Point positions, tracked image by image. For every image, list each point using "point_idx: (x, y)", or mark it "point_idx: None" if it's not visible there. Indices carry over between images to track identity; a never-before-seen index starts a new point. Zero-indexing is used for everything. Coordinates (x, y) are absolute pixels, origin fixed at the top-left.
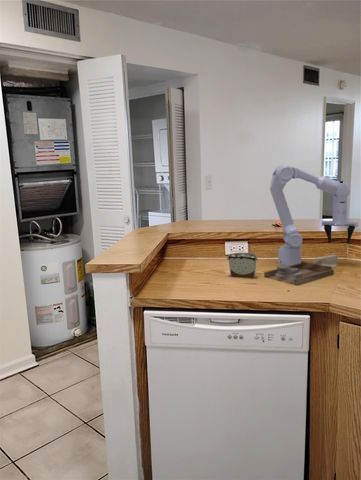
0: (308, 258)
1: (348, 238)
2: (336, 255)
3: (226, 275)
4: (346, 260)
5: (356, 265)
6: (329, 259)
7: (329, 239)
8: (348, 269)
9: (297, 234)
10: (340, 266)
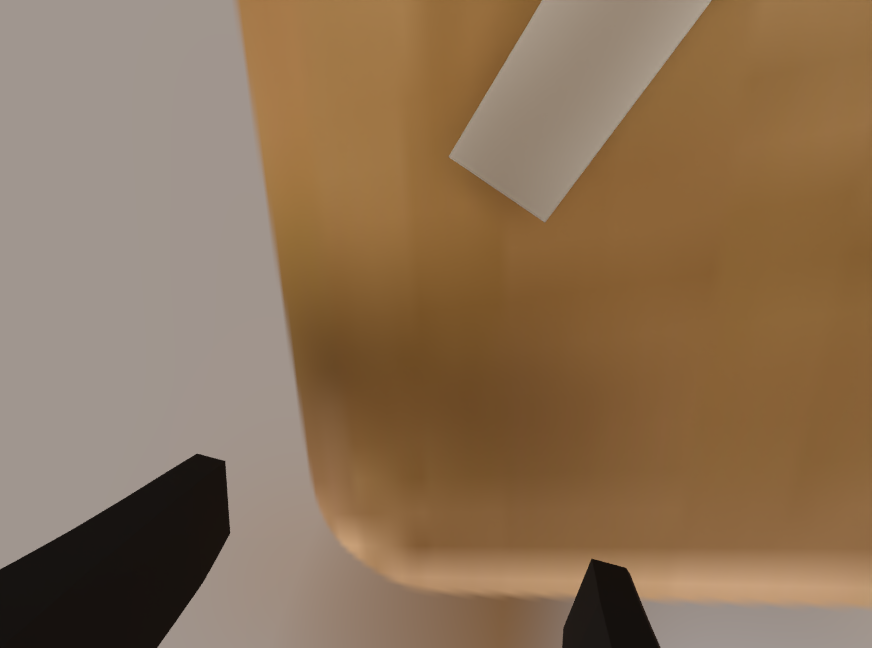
0: (809, 585)
1: (102, 532)
2: (465, 129)
3: None
4: (401, 511)
5: (287, 328)
6: None
7: (619, 628)
8: (342, 112)
9: None
10: (446, 257)
